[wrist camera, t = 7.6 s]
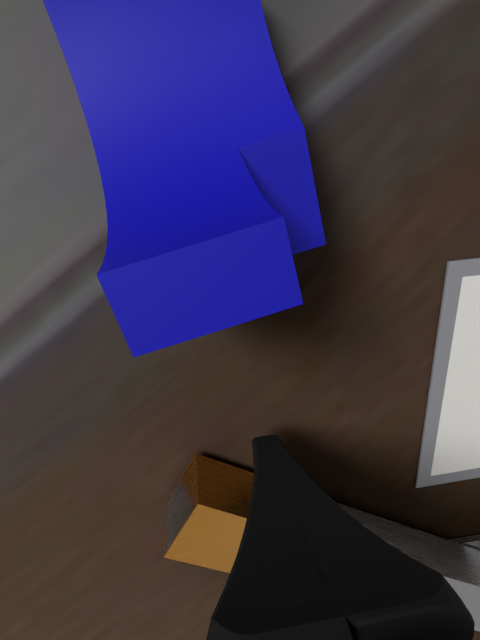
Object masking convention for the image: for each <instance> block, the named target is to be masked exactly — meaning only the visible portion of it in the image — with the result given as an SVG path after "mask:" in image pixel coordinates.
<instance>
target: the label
mask: <svg viewBox="0 0 480 640" xmlns="http://www.w3.org/2000/svg"><path fill="white" fill-rule="evenodd" d="M479 477H480V258H472V259H463V260H454V261H447V267H446V274H445V281H444V288H443V295H442V302H441V309H440V316H439V323H438V330H437V337H436V344H435V351H434V358H433V365H432V372H431V380H430V387H429V394H428V401H427V408H426V415H425V422H424V429H423V436H422V443H421V450H420V457H419V464H418V471H417V478H416V485H415V487H416V488H420V487H426V486H432V485H438V484H444V483H450V482H455V481H461V480H467V479H473V478H479Z"/></svg>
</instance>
